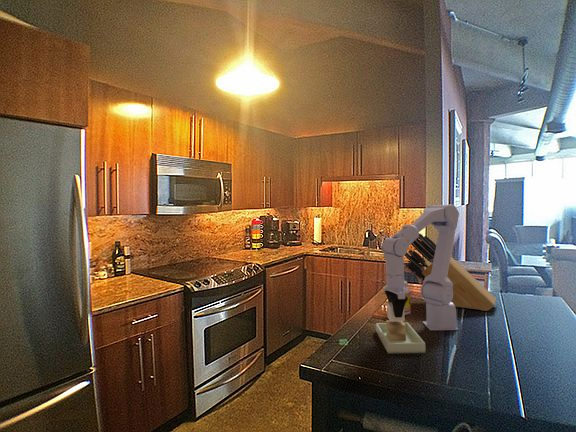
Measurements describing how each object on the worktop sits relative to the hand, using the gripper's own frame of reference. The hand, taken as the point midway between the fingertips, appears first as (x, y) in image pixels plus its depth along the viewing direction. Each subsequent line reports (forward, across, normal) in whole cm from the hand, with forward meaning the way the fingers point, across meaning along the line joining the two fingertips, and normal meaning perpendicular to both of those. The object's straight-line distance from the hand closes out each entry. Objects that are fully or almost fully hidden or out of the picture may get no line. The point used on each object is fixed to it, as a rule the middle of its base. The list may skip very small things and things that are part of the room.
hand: (396, 314), depth 110 cm
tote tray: (+8, +2, 0) cm, 9 cm away
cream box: (+2, 0, 0) cm, 2 cm away
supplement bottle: (+8, -26, +9) cm, 29 cm away
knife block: (+8, -37, +32) cm, 49 cm away
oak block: (+8, 0, 0) cm, 8 cm away
